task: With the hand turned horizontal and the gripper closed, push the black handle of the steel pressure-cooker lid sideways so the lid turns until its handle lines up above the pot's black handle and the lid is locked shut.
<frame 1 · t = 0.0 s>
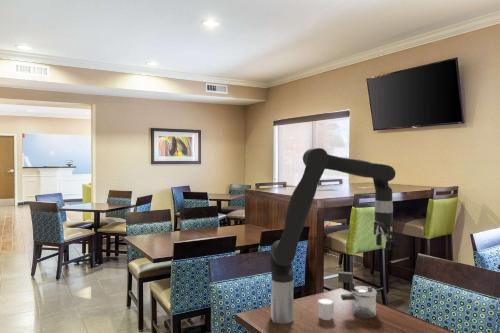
hand: (383, 247, 159), 29 cm above the table, tool pointing down, fingers open, 8 cm apart
white cylinder: (325, 317, 157), on the table
pot: (363, 313, 161), on the table
lid: (357, 282, 162), point 13 cm above the table, hinge at -25.0°
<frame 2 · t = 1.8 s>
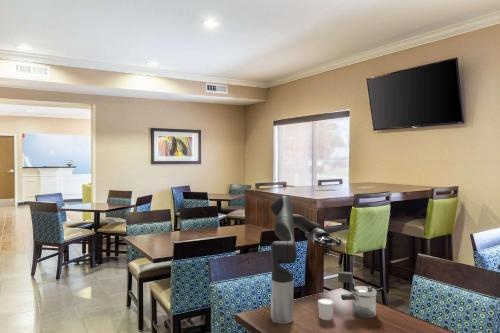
hand: (331, 244, 179), 26 cm above the table, tool horizontal, fingers open, 6 cm apart
nothing on the table moved.
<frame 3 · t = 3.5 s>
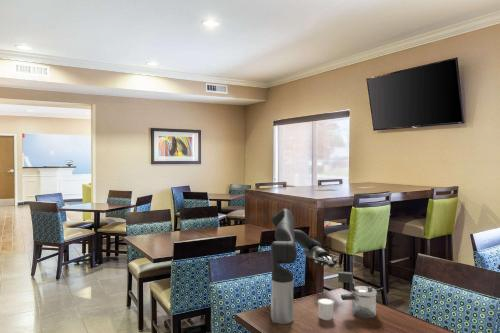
hand: (332, 265, 178), 16 cm above the table, tool horizontal, fingers closed
nothing on the table moved.
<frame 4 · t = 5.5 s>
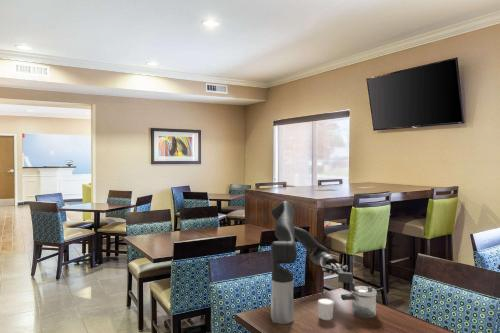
hand: (341, 274, 165), 16 cm above the table, tool horizontal, fingers closed
lid: (357, 282, 161), point 13 cm above the table, hinge at -23.5°, touching gripper
everything else where it was.
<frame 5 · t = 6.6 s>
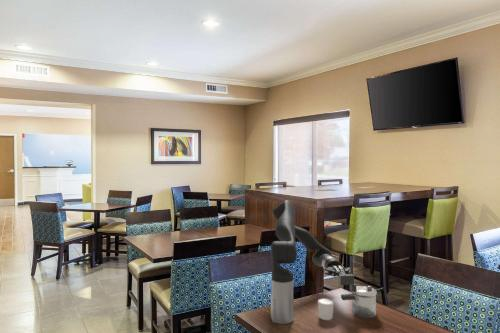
hand: (344, 276, 161), 16 cm above the table, tool horizontal, fingers closed
lid: (357, 283, 160), point 13 cm above the table, hinge at -1.4°, touching gripper
everything else where it was.
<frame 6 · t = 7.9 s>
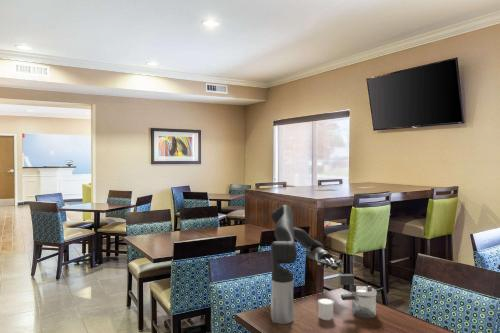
hand: (335, 268, 174), 16 cm above the table, tool horizontal, fingers closed
lid: (357, 283, 160), point 13 cm above the table, hinge at -1.4°
everything else where it was.
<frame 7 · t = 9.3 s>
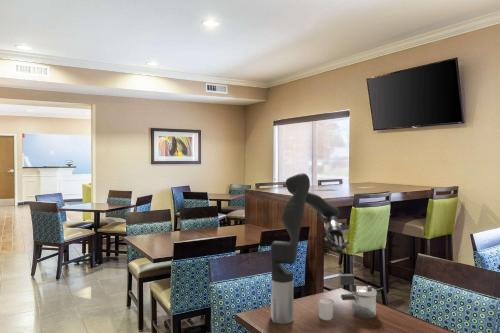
hand: (339, 252, 170), 24 cm above the table, tool tilted 65°, fingers closed
nothing on the table moved.
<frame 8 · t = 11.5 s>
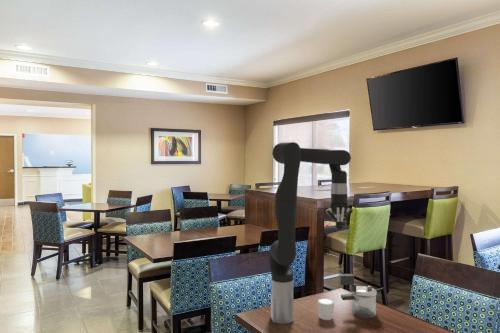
hand: (339, 229, 171), 35 cm above the table, tool pointing down, fingers closed
nothing on the table moved.
at the end: lid at -1° (first picture: -25°); white cylinder moved 0.2 cm from its start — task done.
